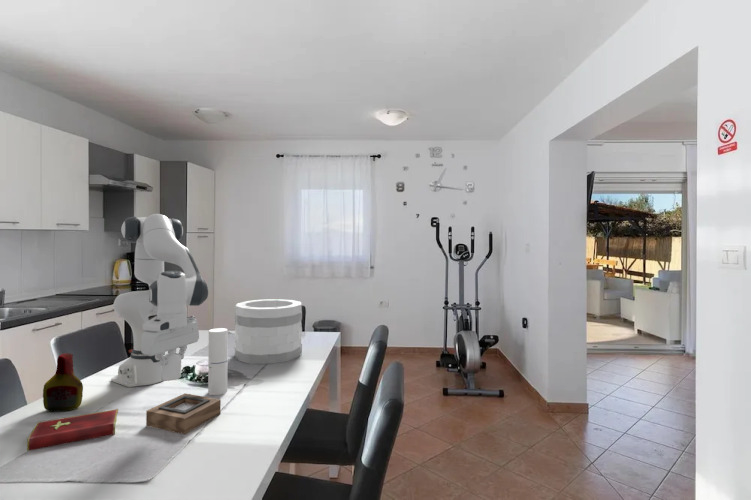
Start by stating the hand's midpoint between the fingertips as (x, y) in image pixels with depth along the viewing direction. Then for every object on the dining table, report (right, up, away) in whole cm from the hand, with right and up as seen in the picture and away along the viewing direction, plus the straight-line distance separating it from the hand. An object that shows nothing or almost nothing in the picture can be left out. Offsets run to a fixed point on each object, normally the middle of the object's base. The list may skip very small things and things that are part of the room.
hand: (172, 362), depth 130 cm
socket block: (+3, -21, +3) cm, 21 cm away
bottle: (-44, -20, +10) cm, 49 cm away
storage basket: (+10, -20, +82) cm, 85 cm away
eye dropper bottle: (0, -6, 0) cm, 6 cm away
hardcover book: (-26, -21, -7) cm, 34 cm away
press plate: (+3, -17, +3) cm, 18 cm away
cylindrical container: (+4, -20, +28) cm, 35 cm away
